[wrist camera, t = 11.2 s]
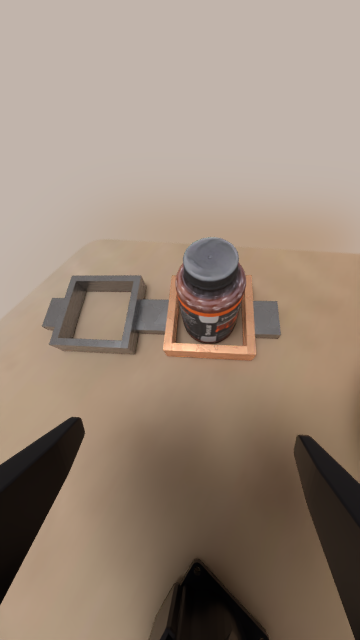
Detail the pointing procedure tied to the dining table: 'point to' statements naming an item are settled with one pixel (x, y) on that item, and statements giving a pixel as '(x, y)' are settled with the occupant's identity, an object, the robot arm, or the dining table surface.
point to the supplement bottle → (210, 289)
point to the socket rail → (154, 320)
